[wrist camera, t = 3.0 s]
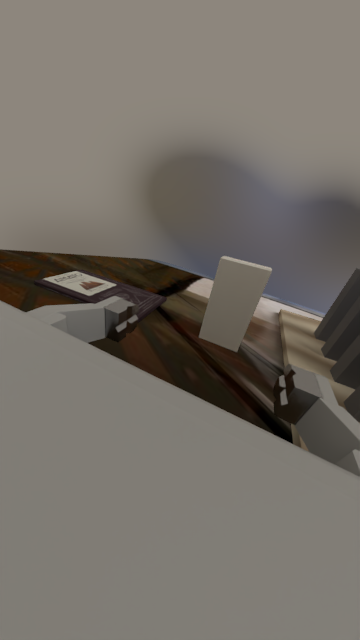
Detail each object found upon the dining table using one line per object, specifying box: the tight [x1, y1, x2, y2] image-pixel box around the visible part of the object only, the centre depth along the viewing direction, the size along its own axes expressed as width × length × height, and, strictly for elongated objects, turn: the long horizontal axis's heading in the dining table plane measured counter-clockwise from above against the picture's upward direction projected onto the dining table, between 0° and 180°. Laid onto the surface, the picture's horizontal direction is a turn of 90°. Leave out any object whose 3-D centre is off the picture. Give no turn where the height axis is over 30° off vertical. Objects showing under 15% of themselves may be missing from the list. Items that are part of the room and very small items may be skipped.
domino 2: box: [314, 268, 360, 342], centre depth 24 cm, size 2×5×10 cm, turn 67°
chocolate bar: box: [34, 270, 167, 322], centre depth 30 cm, size 9×1×18 cm
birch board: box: [279, 309, 360, 452], centre depth 21 cm, size 28×14×1 cm, turn 156°
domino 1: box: [199, 256, 272, 352], centre depth 21 cm, size 2×5×10 cm, turn 66°
